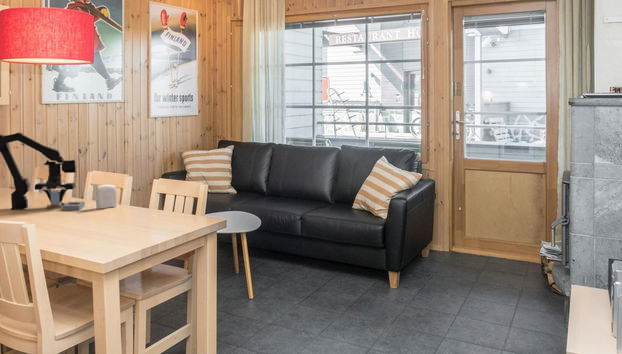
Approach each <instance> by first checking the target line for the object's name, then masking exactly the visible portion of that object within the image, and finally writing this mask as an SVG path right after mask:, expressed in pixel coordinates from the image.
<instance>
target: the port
mask: <svg viewBox="0 0 622 354" xmlns="http://www.w3.org/2000/svg"><path fill="white" fill-rule="evenodd" d="M84 207H85V201H78V200H75V201H67V202H65V205H63V206H62V211H63V212H65V211H66V212H69V211H76V212H77V211H81V210H82V209H83V208H84Z"/></svg>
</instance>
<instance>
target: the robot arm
mask: <svg viewBox="0 0 622 354" xmlns="http://www.w3.org/2000/svg"><path fill="white" fill-rule="evenodd" d="M17 141H18V142H19V143H21V144H24V145H25V146H28V147H29V148H31V149H34V150H36V151H37V152H39V153H41V155H43V156H44V157H45V158H47V160H46V162H44V163H43V165H44V166H47V167H48V176H47V180H46V182H37V183H36V184H34V190H36V191H37V190H41V191H42V192H45V194H46V196H47V198H48V200H49V203H51V194H50V193H51V192H52V190H57V189H59V192H60V202H61V203H63V200H64V196H65V194H66V192H67V191H69V190H75V188H76V183H75V182H66V183H64V184H62V183H63V182H62V174H61V173H62V172H63V173H64V174H72V173H73V174H74V173H75V174H76V173H77V165H76V160H75V159H71V160H65V159H64V158H63V157H62V155H61V152H60V150H59V149H56V148H52V147H50V146H47V145H44V144H42V143H40V142H38V141H36V140H34V139H33V138H31V137H29V136H27V135H24V134H23V133H22V132H16V133H13V134H7V135H5V134H0V154H1V155H2V158H3V160H4V162H5V164H6V166H7V168H8V170H9V172H10V174H11V177H12V179H13V185H14V189H15V190H14V191H13V192H12V193H10V195H11V197H10V198H11V200H10V201H11V202H10V203H11V208H10V210H25V209H27V208H29V201H28V198H27V195H26V194H27V193H28V192H29V191H30V189H31V183H30V182H29V179H28V177H25V178H24V177H23V175H22V173H21V171H20V169H19V167H18V165H17V162H16V160H15V159H14V156H13V154H12V151H11V147H10V143H12V142H17ZM61 171H62V172H61Z"/></svg>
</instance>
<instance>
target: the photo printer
mask: <svg viewBox="0 0 622 354" xmlns="http://www.w3.org/2000/svg"><path fill="white" fill-rule="evenodd" d="M95 200H96V201H95V202H96V203H95V204H96V209H97V210H98V209H99V210H100V209H109V208H116V207H117V188H116V185H114V184H101V185H99V186H96V188H95Z"/></svg>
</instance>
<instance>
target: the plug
mask: <svg viewBox="0 0 622 354" xmlns="http://www.w3.org/2000/svg"><path fill="white" fill-rule="evenodd" d="M50 194H51V202H50V205H61V203H62V202H60V189H51V193H50Z"/></svg>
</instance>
